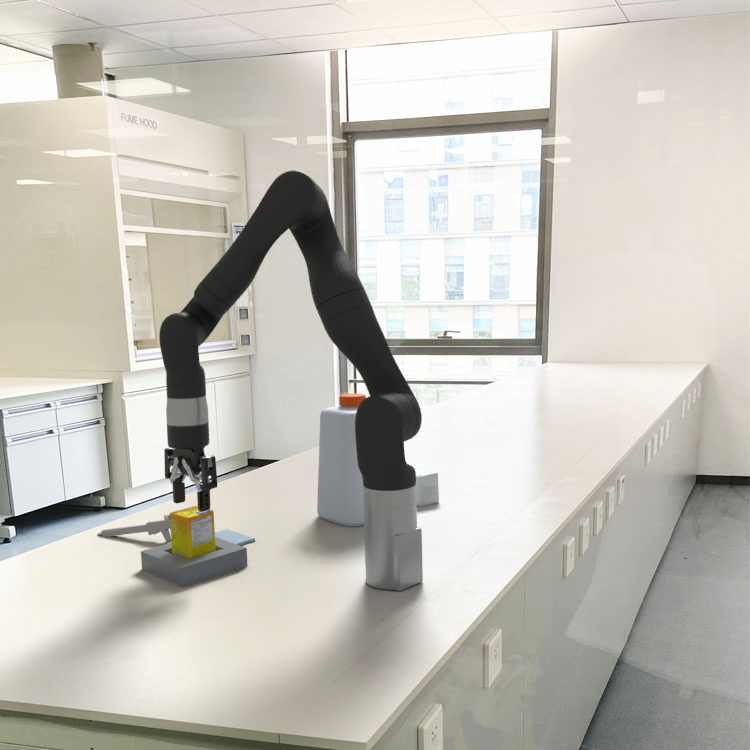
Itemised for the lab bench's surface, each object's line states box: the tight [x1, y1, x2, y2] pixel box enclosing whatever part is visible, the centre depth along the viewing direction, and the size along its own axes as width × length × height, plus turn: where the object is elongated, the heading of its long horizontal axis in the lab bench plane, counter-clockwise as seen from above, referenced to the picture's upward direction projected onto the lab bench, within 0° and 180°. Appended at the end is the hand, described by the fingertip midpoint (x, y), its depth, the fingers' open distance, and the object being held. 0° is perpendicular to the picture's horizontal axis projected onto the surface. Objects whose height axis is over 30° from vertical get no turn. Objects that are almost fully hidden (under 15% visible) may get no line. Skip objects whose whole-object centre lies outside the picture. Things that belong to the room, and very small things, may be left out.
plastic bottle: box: [316, 393, 367, 527], centre depth 172 cm, size 15×15×28 cm
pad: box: [215, 529, 256, 546], centre depth 157 cm, size 10×10×1 cm
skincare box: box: [415, 468, 440, 507], centre depth 184 cm, size 6×6×7 cm
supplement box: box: [169, 505, 216, 560], centre depth 142 cm, size 6×6×11 cm
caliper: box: [96, 514, 172, 544], centre depth 161 cm, size 20×1×6 cm, turn 69°
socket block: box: [140, 537, 248, 588], centre depth 142 cm, size 14×14×4 cm
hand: (191, 506), depth 142 cm, fingers open, 8 cm apart
